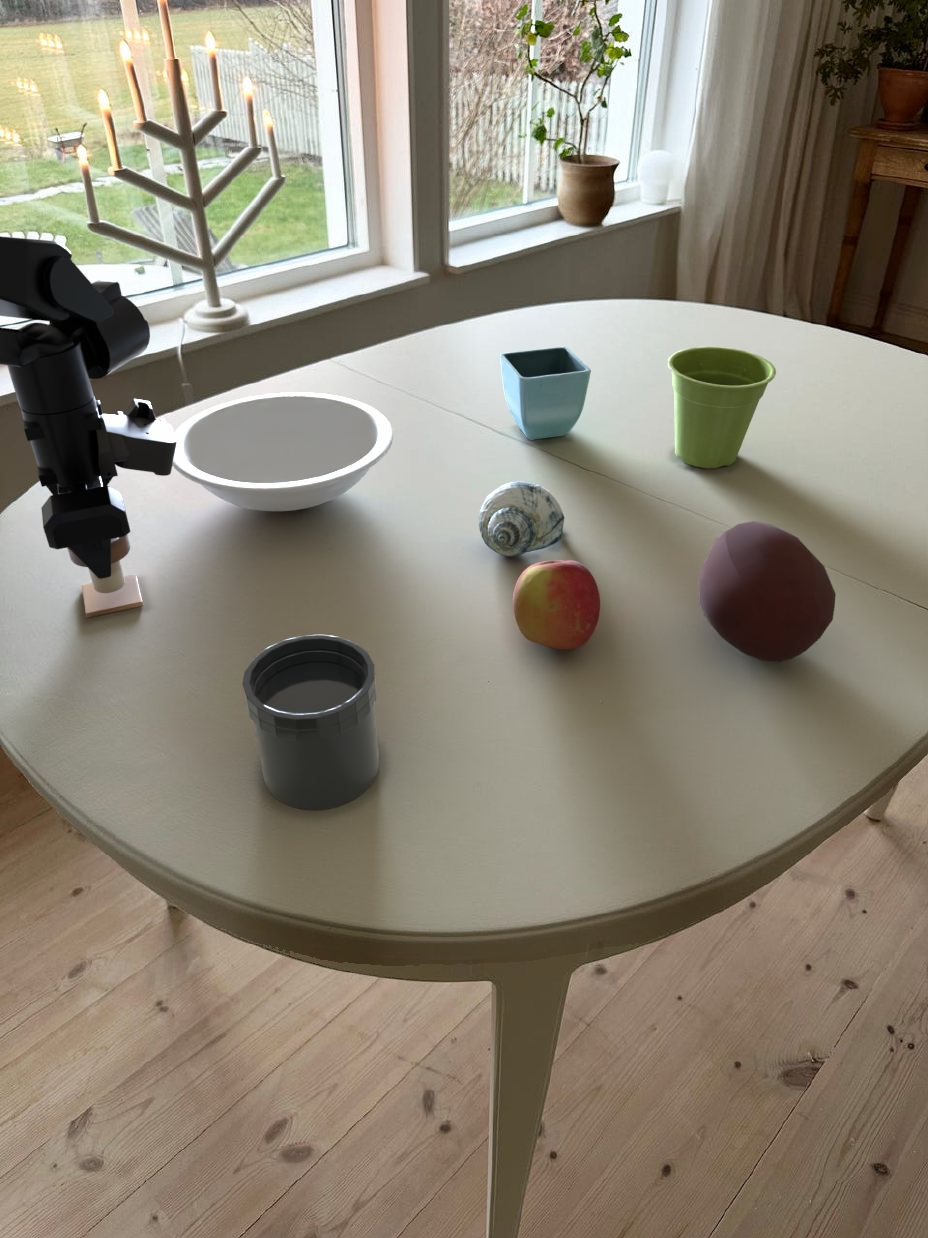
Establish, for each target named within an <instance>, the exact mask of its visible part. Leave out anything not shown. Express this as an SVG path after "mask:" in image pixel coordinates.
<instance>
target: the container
mask: <svg viewBox="0 0 928 1238" xmlns="http://www.w3.org/2000/svg"><path fill="white" fill-rule="evenodd" d="M242 690H243V695H244V701H245V706H246V709H247V712H248V716H249V718H250V719H251V721H252V724H253V730H254V735H255V739H256V740H255V741H256V745H257V750H258V755H259V761H260V766H261V771H262V777H263V781H264V784H265V786H266V788H267V790H268V791H269V792H270V794H271V795H272V796H273V797H274V798H275V799H277V801H279V802H281V803H283V804H284V805H287V806H290V807H293V808H296V809H302V810H308V811H309V810H310V811H318V810H329V809H332V808H333V809H334V808H336V807H339V806H343V805H345V804H348V803H351V802H352V801H353V800H355V799H357V798H358V797H360V796H361V795H362V794H364V793H365V792H366V791H367V790H368V789H369V788H370V787H371V785H373V782H374V781H375V779H376V777H377V774H378V772H379V769H380V768H379V767H380V755H379V742H378V730H377V719H376V706H375V705H376V704H375V702H376V700H377V677H376V665H375V663H374V661H373V659H372V657H371V655H370V654H369V652H368V651H367V650H365V649H364V648H362V646H360V645H359V644H358V643H357V642H354V641H351V640H349V639H346V638H344V637H341V636H334V635H328V634H308V635H299V636H296V637H295V636H294V637H291V638H287V639H284V640H281V641H279V642H277V643H275V644H273V645H270V646H268V647H267V648H265V649H264V650H262V651H261V652H259V654H257V655H256V656H255V657H254V658H252V660H251V661H250V663H249V664H248V666H247V667H246V669H245V670H244V674H243V679H242Z"/></svg>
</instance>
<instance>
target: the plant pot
mask: <svg viewBox="0 0 928 1238" xmlns="http://www.w3.org/2000/svg"><path fill="white" fill-rule="evenodd" d="M667 367H668V369H669V370H670V371H671V383H672V388H673V400H674V401H673V408H674V414H673V415H674V454H675V455H676V457H678V458H680V459H681V460H682V461H683V462H684V463H685V464H688V465H689V466H693V467H697V468H703V469H717V468H719V467H722V466H727V467H728V466H731V465H732V464H733V463H735V462H736V460H737V458H738V455H739V452H740V449H741V447H742V445H743V442H744V440H745V437H746V434H747V432H748V429H749V427H750V424H751V422H752V420H753V417H754V415H755V412H756V409H757V407H758V404H759V402H760V400H761V399H762V398H763V396H764V393H765V391H766V389H767V386H768V384H769V383H771V381H773V380H774V379H775V377H776V375H777V370H776V367H775V366H774V364H773V363H772V362H771V361H769V360H768V359H766V358H764V357H763V356H761V355H759V354H755V353H753V352H749V351H746V350H742V349H737V348H731V347H726V346H695V347H689V348H685V349H681V350H678V351H676V352H674V353H672V354H671V356H670V357H668V359H667Z"/></svg>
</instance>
